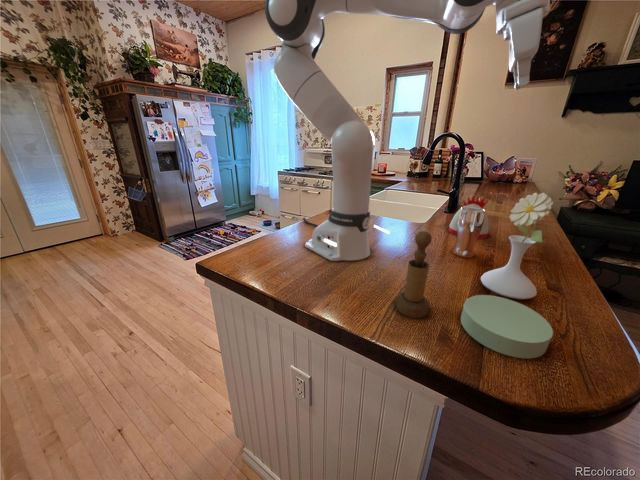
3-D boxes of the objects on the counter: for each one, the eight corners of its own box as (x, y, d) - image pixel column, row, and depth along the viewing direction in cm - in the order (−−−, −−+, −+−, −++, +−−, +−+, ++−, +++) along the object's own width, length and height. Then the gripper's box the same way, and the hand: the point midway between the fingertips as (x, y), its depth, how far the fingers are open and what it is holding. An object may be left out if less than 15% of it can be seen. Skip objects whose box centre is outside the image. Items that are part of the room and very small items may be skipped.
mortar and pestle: (390, 308, 56) (400, 231, 50) (404, 296, 61) (415, 224, 54) (418, 322, 52) (434, 240, 45) (432, 309, 56) (448, 232, 50)
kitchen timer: (487, 241, 94) (498, 201, 89) (446, 234, 101) (454, 196, 96) (487, 230, 106) (496, 194, 100) (450, 225, 112) (457, 190, 107)
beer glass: (478, 259, 80) (490, 212, 75) (454, 257, 81) (464, 211, 76) (470, 250, 87) (481, 207, 81) (448, 248, 88) (457, 205, 82)
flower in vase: (475, 275, 70) (500, 184, 61) (525, 283, 67) (559, 187, 57) (484, 301, 59) (516, 194, 50) (545, 313, 55) (591, 199, 46)
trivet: (452, 332, 50) (455, 317, 48) (469, 300, 59) (472, 287, 58) (545, 373, 41) (552, 356, 40) (547, 328, 51) (553, 313, 50)
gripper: (501, 34, 63) (502, 95, 67) (504, 7, 48) (506, 88, 52) (534, 21, 60) (533, 86, 64) (549, -13, 44) (547, 76, 48)
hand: (521, 87), depth 58 cm, fingers open, 8 cm apart
